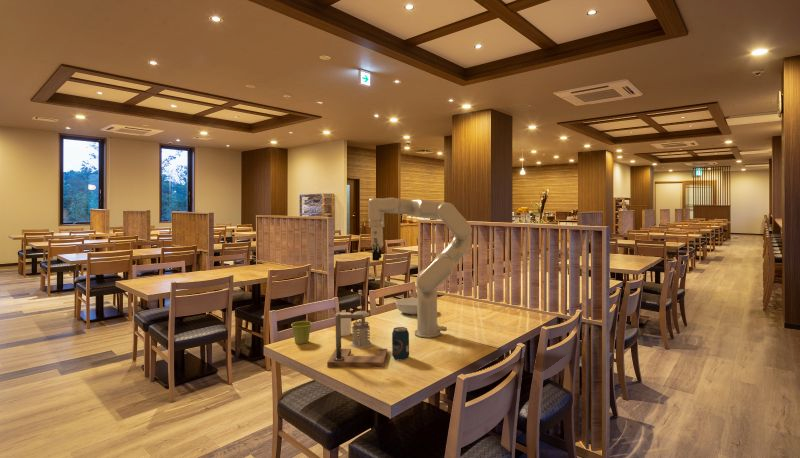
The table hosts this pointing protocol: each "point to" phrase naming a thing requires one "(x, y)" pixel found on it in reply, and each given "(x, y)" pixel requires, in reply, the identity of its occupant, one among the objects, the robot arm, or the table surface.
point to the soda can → (400, 343)
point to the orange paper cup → (345, 324)
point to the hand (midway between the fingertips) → (377, 259)
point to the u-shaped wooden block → (358, 359)
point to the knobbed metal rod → (338, 333)
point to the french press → (361, 330)
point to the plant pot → (301, 331)
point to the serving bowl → (407, 305)
